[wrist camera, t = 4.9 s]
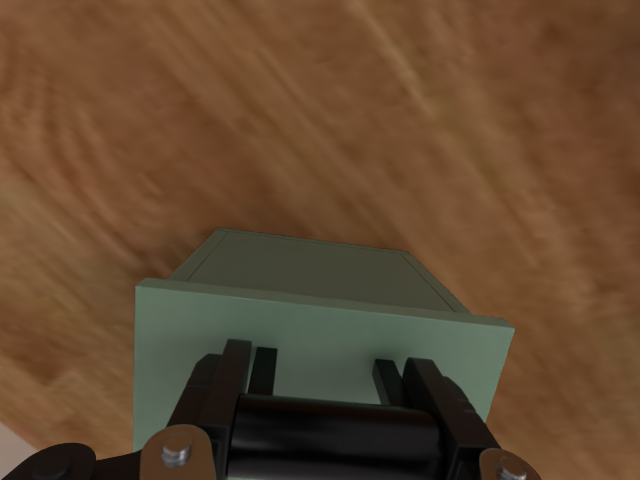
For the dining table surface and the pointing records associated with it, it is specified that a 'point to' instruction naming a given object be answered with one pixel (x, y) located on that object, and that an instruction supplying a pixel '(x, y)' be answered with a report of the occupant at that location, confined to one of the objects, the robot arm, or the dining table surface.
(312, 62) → the dining table surface
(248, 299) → the bin lid
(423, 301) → the bin
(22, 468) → the robot arm
